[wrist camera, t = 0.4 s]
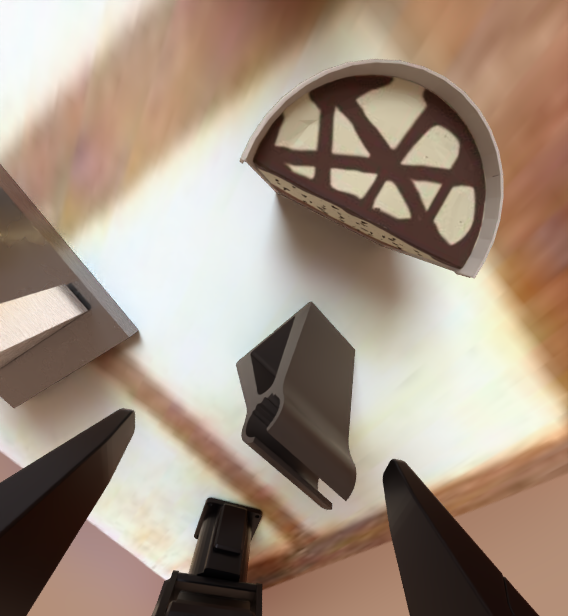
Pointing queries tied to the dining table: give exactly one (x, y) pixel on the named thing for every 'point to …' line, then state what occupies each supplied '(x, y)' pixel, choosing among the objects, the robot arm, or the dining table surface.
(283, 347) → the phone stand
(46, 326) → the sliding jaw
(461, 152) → the brown cake slice
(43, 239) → the vise base
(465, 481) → the dining table surface
